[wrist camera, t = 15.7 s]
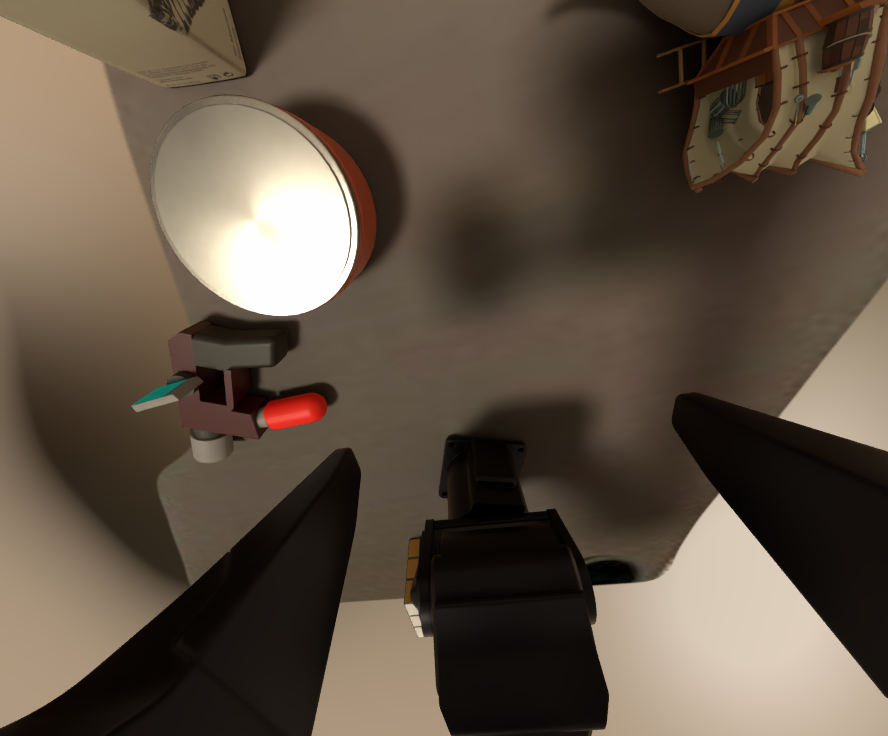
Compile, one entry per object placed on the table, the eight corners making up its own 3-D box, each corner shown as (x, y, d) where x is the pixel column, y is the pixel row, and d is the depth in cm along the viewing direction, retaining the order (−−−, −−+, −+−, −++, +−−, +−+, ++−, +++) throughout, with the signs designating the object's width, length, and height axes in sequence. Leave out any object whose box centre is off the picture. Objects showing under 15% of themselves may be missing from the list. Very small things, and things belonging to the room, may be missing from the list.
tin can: (378, 298, 20) (360, 326, 16) (238, 284, 20) (178, 310, 15) (379, 134, 16) (357, 107, 12) (205, 111, 16) (109, 73, 11)
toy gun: (202, 447, 25) (154, 497, 21) (181, 303, 20) (111, 331, 16) (325, 466, 27) (304, 517, 22) (337, 335, 21) (311, 369, 17)
